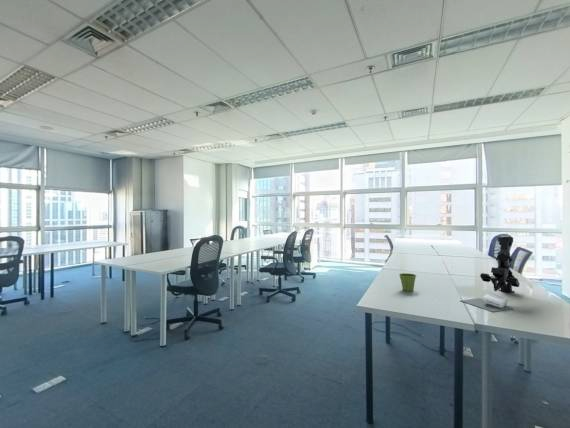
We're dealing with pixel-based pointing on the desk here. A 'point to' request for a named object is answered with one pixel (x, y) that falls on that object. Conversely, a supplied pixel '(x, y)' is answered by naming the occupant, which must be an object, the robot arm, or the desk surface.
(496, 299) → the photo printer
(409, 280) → the plant pot
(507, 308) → the mat
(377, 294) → the desk surface
